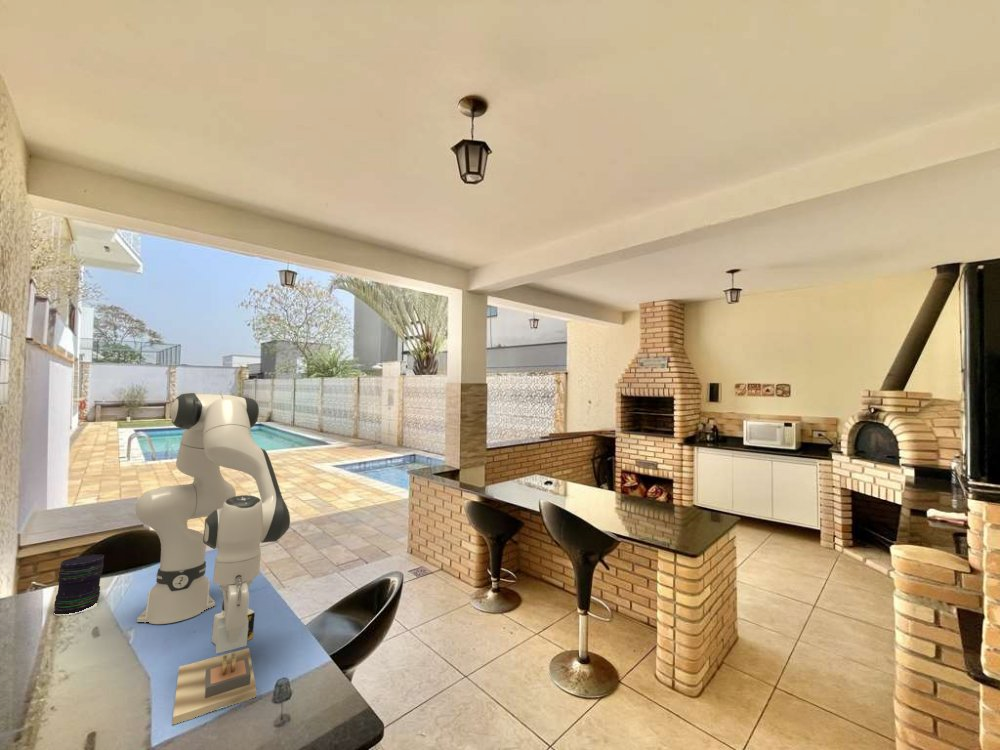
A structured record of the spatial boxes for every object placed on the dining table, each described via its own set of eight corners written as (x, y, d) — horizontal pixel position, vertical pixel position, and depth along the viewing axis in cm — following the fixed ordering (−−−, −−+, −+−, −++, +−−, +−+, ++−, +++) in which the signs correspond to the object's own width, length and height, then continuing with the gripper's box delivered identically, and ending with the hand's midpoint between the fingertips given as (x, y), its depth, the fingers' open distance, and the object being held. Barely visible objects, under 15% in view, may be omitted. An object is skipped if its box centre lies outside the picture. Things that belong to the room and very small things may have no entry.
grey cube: (215, 642, 90) (217, 618, 91) (244, 634, 93) (246, 612, 94) (215, 653, 85) (218, 628, 86) (246, 645, 89) (248, 621, 89)
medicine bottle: (224, 650, 103) (228, 601, 104) (211, 642, 107) (215, 595, 108) (253, 638, 109) (256, 592, 111) (240, 631, 113) (243, 586, 114)
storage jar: (107, 603, 130) (113, 555, 132) (72, 617, 120) (79, 565, 122) (80, 601, 131) (86, 553, 132) (43, 615, 121) (50, 563, 123)
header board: (178, 673, 93) (181, 643, 94) (248, 654, 102) (250, 626, 102) (172, 725, 77) (175, 688, 78) (255, 697, 86) (258, 664, 86)
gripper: (258, 580, 85) (252, 651, 83) (249, 556, 101) (245, 614, 99) (222, 587, 81) (215, 661, 79) (219, 560, 98) (214, 621, 96)
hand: (232, 634), depth 90 cm, fingers closed on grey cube, 6 cm apart
